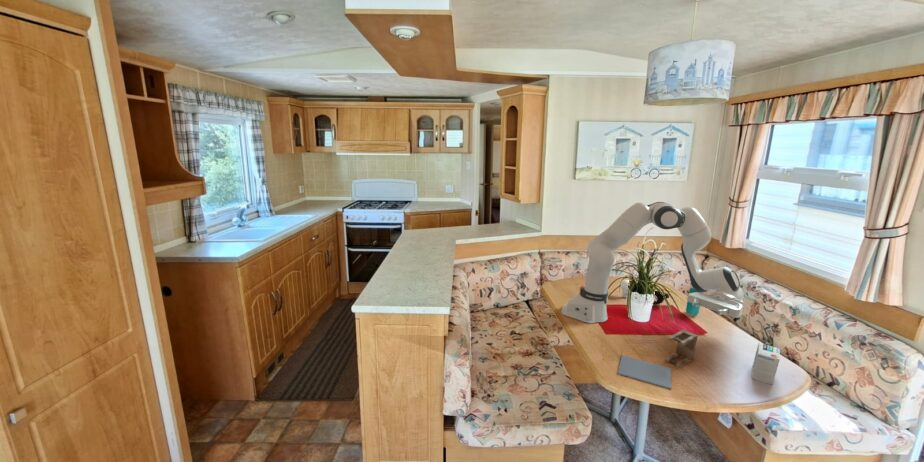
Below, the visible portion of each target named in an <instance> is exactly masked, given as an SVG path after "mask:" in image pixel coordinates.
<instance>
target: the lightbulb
mask: <svg viewBox="0 0 924 462" xmlns="http://www.w3.org/2000/svg"><path fill="white" fill-rule="evenodd" d="M629 280H630V279H622V280H621V282H620V283H619V284H620V285H621V286H620V289H621V290H622V298H624V299H626V298H628V296H627V294H628V295H629V292H628V283H629Z"/></svg>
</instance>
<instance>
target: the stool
mask: <svg viewBox="0 0 924 462" xmlns="http://www.w3.org/2000/svg"><path fill="white" fill-rule="evenodd" d="M698 337H699V335H698V334H695V333H692V332H691V331H687V330H685V329H681V330H679V331H678V332H676V333H674V334H672V335H670V336H669V337H668V341H670V342H672V341H675V342H677V344H676V349H675V352H674V353H672V354H671V355H669V356H667V357H665V358H664V362H665V363H666V364H667V363H668V364H669V363H671V364H674V365H675V367H676V368H677V369H680V368H681V367H683V366H685V365H686V364H688V363H689V362H692V361H693V360H694V358H695V353H696V346H697V343H698V342H697V341H698ZM678 357H679V358H682V360H680V361H679V362H678V361H676V360H675V359H677V358H678Z"/></svg>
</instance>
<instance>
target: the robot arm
mask: <svg viewBox="0 0 924 462" xmlns="http://www.w3.org/2000/svg"><path fill="white" fill-rule="evenodd" d="M648 224H653V225H654V226H656V227H657V228H659V229H662V230H672V229H678V231H679V233H680V235H681V237H682V240H683V243H682V244H681V246H680V251H681V255H682V257H683V261H684V264H685V267H686V269H687V273H688V277H689V281H690V286H692V287H693V288H694V289H695V290H697V291H699V292H701V293H699V292H693V293H690V294H689V293H688V294H687V297H686V300H687V301H688V302H690V303H693V304H692V305H693V306H698V305H699V306H700V307H703V308H705V309H708V310H711V311H714V312H716V315H720V316H721V315H726V316H729V317H733V319H734V318H736V319H738V318H741V316H742V313H743V310H744V307H745V306H744V304H745V301H744V300H743V298H744V295H745V294H744V291H743V289H742V288H741V287H740V286H741V282H740V278H739V276H738V274H737V273H736V271H734V270H733V269H732V268H729V267H728V266H723V267H715V268H712V269H706V270H702V269H700V266H699V263H698V261H697V258H696V254H697V253H698V252H699V251H701V250H702V249H704V248H705V247H706V246H708V244H710V242H711V240H712V236H713V235H712V231H711V229H710V227H709V225H708V224H707V222H706V221H705V219H704V218H703V216H702V214H700V212H699V211H698V210H697V209H696V208H694V207H692V206H686V207H682V208H680V209H678V208H676V207H675V206H673V205H671V204H669V203H668V202H664V201H657V202H653V203H650V204H645V203H643V202H635V203H633V205H631V206H630V207H628V208H627V209H625V210H624V211H623V213H621V214H620V215H619V216H618V217H617V218H616V219H615V220H614V222H613V223H612V224H610V226H609V227H607V229H605V230H604V231H602V232H601V233H600V234H598V236H596V237H595V238H593V239H591V240H590V241H589V243H588V245H587V247H586V253H587V254H588V265H587V268H586V273H585V276H584V277H585V278H584V279H585V280H584V285H583V284H582V285H581V286H580V287H579V293H578V294H575V295H574V296H571V297H570V298H569V300H568V301H567V303H566V304H564V305H563V306H562V308H561V311H560V312H561V314H562V315H563V316H566V317H568V318H571V319H575V320H578V321H580V322H584V323H587V324H594V323H595V324H596V323H604V322H606V321H607V320H608V312H607V303H608V300H609V299H608V298H609V291H608V290H609V284H610V283H609V282H610V277H611V273H612V269H613V266H614V263H615V260H616V259H615V258H616V257H615V253H614V252H615V251H616V250H617V249H620V248H621V247H622V246H624V245H627V244H628V243H629V242H630V241H631V240H632V239H633V238H634V237H635V236H636V235H637V234H638V233H639V232H640V231H641V230H642V229H643V228H644V227H645V226H647V225H648ZM711 291H713V292H712V293H710V294H706V292H711ZM702 292H703V293H702Z"/></svg>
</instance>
